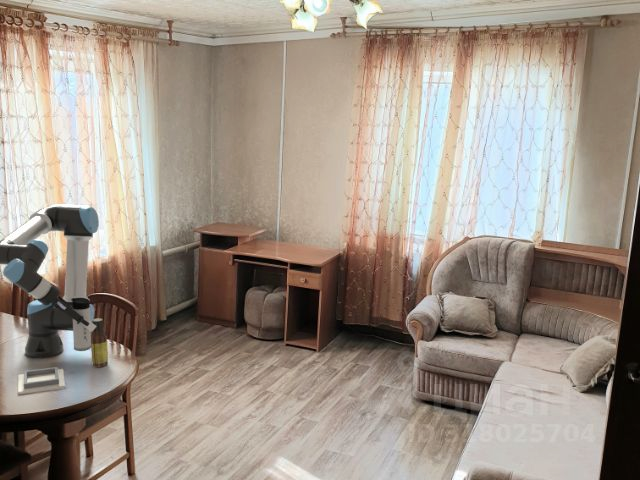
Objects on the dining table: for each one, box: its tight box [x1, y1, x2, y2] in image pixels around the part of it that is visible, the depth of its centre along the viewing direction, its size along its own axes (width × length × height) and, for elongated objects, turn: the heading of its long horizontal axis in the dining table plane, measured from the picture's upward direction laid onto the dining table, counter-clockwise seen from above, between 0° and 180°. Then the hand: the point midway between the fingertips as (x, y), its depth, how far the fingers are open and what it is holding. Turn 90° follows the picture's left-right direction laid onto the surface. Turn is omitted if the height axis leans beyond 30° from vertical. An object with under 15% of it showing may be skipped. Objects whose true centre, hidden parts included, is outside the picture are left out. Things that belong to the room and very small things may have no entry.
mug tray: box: [17, 366, 66, 396], centre depth 231 cm, size 16×16×3 cm
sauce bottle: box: [90, 317, 109, 368], centre depth 247 cm, size 7×6×20 cm
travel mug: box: [71, 298, 92, 352], centre depth 229 cm, size 6×7×20 cm
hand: (91, 326), depth 231 cm, fingers closed on travel mug, 6 cm apart
